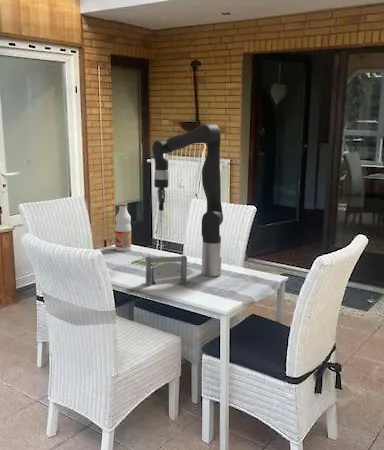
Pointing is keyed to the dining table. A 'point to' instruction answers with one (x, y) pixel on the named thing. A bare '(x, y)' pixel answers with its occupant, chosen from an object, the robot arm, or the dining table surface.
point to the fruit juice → (123, 229)
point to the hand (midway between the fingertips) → (161, 210)
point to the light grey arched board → (166, 273)
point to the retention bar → (166, 259)
